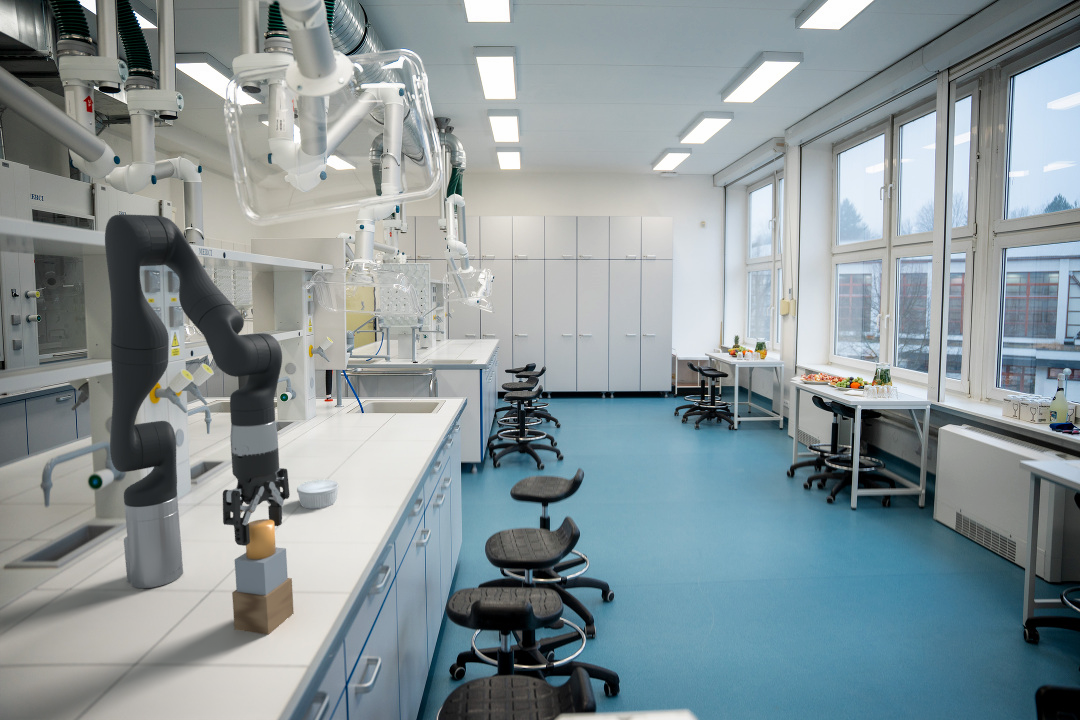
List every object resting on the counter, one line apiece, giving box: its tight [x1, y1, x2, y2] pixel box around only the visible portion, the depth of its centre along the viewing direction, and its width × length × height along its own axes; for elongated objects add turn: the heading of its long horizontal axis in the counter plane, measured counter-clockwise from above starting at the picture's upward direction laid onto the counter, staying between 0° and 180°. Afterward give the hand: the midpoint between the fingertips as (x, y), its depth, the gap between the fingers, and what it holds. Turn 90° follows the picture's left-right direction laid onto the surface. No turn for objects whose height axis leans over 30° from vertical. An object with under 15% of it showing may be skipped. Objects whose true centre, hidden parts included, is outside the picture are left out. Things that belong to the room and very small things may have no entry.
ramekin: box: [296, 479, 340, 510], centre depth 168 cm, size 11×11×5 cm
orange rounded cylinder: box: [245, 518, 276, 559], centre depth 107 cm, size 5×5×6 cm
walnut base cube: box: [231, 577, 295, 636], centre depth 108 cm, size 7×7×7 cm
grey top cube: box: [234, 546, 289, 595], centre depth 107 cm, size 6×6×6 cm
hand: (259, 534), depth 107 cm, fingers open, 8 cm apart
